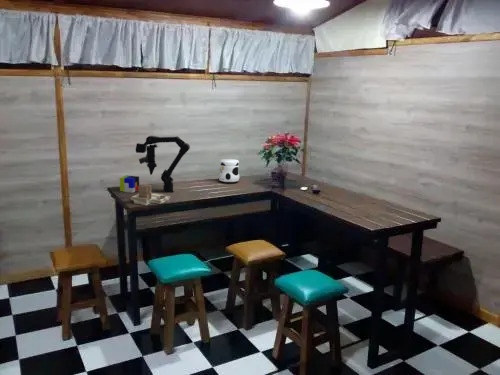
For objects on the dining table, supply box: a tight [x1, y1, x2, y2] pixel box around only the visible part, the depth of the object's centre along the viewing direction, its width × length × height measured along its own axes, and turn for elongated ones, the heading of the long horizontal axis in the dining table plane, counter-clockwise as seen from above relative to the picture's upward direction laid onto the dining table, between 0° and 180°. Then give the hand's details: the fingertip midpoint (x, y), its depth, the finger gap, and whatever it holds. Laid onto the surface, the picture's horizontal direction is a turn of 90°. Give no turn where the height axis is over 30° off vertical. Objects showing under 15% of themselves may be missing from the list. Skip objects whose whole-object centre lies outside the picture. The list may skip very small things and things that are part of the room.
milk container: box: [218, 158, 241, 184], centre depth 358 cm, size 17×17×18 cm
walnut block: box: [138, 184, 152, 200], centre depth 287 cm, size 6×6×9 cm
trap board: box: [130, 192, 171, 206], centre depth 293 cm, size 24×22×4 cm
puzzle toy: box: [119, 175, 140, 194], centre depth 316 cm, size 10×10×10 cm
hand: (151, 174), depth 317 cm, fingers closed
